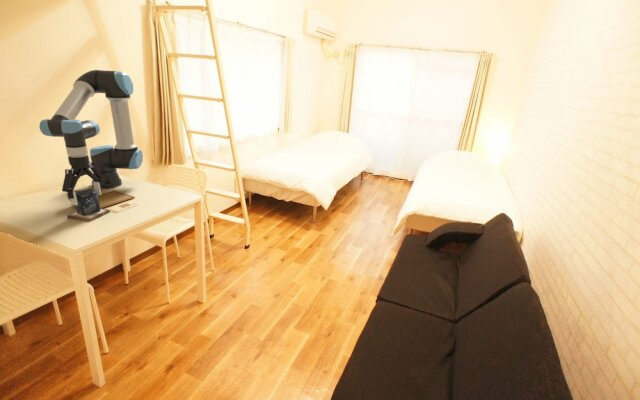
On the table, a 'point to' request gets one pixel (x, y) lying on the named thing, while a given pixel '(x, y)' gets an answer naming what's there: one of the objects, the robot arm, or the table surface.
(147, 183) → the table surface
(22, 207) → the table surface
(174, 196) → the table surface
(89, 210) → the box
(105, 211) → the board
